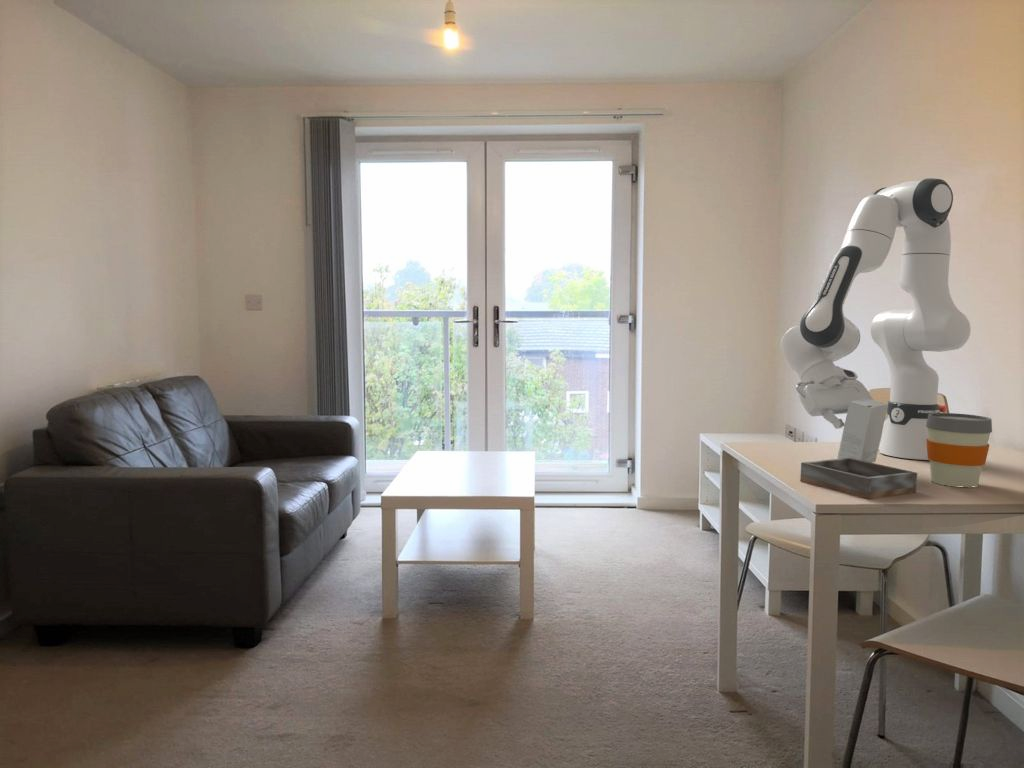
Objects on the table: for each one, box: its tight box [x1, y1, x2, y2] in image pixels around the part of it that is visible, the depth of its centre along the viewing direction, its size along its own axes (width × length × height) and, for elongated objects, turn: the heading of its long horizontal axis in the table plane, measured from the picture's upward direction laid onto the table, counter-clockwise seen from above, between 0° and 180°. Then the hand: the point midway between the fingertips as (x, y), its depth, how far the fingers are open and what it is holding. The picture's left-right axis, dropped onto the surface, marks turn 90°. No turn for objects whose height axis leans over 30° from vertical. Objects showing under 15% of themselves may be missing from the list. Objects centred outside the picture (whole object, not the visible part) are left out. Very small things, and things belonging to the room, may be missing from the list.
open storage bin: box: [800, 458, 918, 500], centre depth 158 cm, size 15×17×4 cm
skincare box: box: [836, 398, 888, 463], centre depth 174 cm, size 8×6×15 cm
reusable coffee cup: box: [926, 412, 993, 487], centre depth 163 cm, size 13×13×15 cm
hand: (854, 425), depth 175 cm, fingers closed on skincare box, 8 cm apart
